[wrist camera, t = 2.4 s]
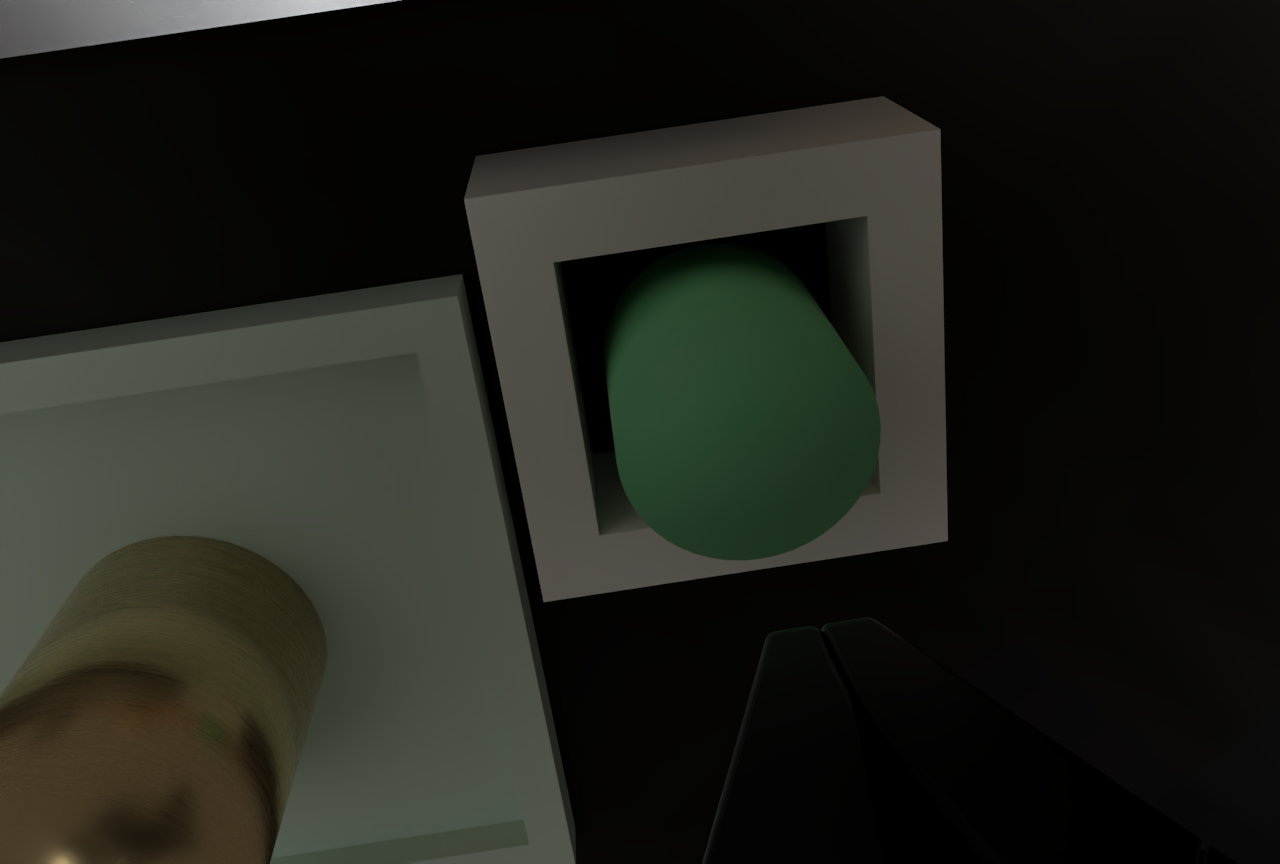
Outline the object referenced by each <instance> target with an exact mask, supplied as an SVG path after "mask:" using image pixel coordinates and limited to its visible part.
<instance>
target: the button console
mask: <svg viewBox="0 0 1280 864" xmlns="http://www.w3.org/2000/svg"><path fill="white" fill-rule="evenodd" d="M464 202H465V207H466V212H467V217H468V222H469V227H470V233H471V238H472V243H473V248H474V253H475V258H476V263H477V268H478V273H479V278H480V283H481V288H482V293H483V298H484V303H485V308H486V313H487V319H488V324H489V329H490V334H491V339H492V344H493V349H494V354H495V359H496V364H497V369H498V374H499V379H500V384H501V389H502V394H503V399H504V404H505V410H506V415H507V420H508V425H509V430H510V435H511V440H512V445H513V450H514V455H515V460H516V465H517V470H518V475H519V480H520V485H521V490H522V495H523V501H524V506H525V511H526V516H527V521H528V526H529V531H530V536H531V541H532V546H533V551H534V556H535V561H536V566H537V571H538V576H539V581H540V587H541V592H542V597H543V602H548V601H555V600H561V599H568V598H575V597H581V596H588V595H594V594H601V593H608V592H614V591H621V590H627V589H634V588H640V587H647V586H654V585H660V584H667V583H673V582H680V581H687V580H693V579H700V578H706V577H713V576H720V575H726V574H733V573H739V572H746V571H753V570H759V569H766V568H772V567H779V566H786V565H792V564H799V563H805V562H812V561H818V560H825V559H832V558H838V557H845V556H851V555H858V554H865V553H871V552H878V551H884V550H891V549H898V548H904V547H911V546H917V545H924V544H931V543H937V542H944V541H948V520H947V464H946V409H945V354H944V298H943V243H942V188H941V132H940V129H939V128H938V127H936V126H934V125H932V124H931V123H929V122H927V121H925V120H924V119H922V118H920V117H918V116H917V115H915V114H913V113H912V112H910V111H908V110H906V109H905V108H903V107H901V106H899V105H898V104H896V103H894V102H893V101H891V100H889V99H887V98H886V97H884V96H881V97H874V98H868V99H861V100H854V101H847V102H840V103H834V104H827V105H820V106H813V107H806V108H800V109H793V110H786V111H779V112H772V113H765V114H759V115H752V116H745V117H738V118H731V119H725V120H718V121H711V122H704V123H697V124H691V125H684V126H677V127H670V128H663V129H656V130H650V131H643V132H636V133H629V134H622V135H616V136H609V137H602V138H595V139H588V140H582V141H575V142H568V143H561V144H554V145H547V146H541V147H534V148H527V149H520V150H513V151H507V152H500V153H493V154H486V155H479V156H476V157H475V161H474V165H473V168H472V172H471V176H470V179H469V183H468V186H467V190H466V194H465V197H464ZM823 222H825V224H826V240H827V256H828V272H829V288H830V304H831V320H832V326H833V328H834V329H835V331H836V332H837V334H838V335H839V337H840V338H841V340H842V341H843V343H844V344H845V346H846V347H847V349H848V350H849V352H850V353H851V354H852V356H853V357H854V359H855V360H856V362H857V363H858V365H859V366H860V368H861V369H862V371H863V373H864V374H865V376H866V377H867V379H868V381H869V383H870V385H871V387H872V390H873V392H874V394H875V398H876V401H877V405H878V409H879V415H880V424H881V435H880V446H879V452H878V458H877V461H876V464H875V467H874V470H873V473H872V475H871V477H870V480H869V482H868V484H867V486H866V488H865V489H864V491H863V493H862V494H861V496H860V497H859V499H858V501H857V502H856V503H855V504H854V505H853V507H852V508H851V509H850V510H849V512H848V513H847V514H846V515H845V516H844V517H843V518H842V519H841V520H840V521H839V522H838V523H837V524H836V525H834V526H833V527H832V528H830V529H829V530H828V531H826V532H825V533H824V534H822V535H821V536H819V537H818V538H816V539H814V540H813V541H811V542H809V543H807V544H805V545H803V546H801V547H799V548H797V549H794V550H792V551H789V552H786V553H783V554H780V555H777V556H772V557H767V558H762V559H755V560H744V561H743V560H722V559H715V558H709V557H705V556H702V555H698V554H694V553H692V552H689V551H687V550H684V549H682V548H680V547H678V546H676V545H674V544H672V543H671V542H669V541H667V540H666V539H664V538H663V537H661V536H660V535H659V534H657V533H656V532H655V531H654V530H653V529H651V528H650V527H649V526H648V525H647V524H646V523H645V522H644V521H643V520H642V518H641V517H640V516H639V514H638V513H637V512H636V511H635V509H634V508H633V506H632V504H631V503H630V501H629V499H628V497H627V496H626V494H625V491H624V488H623V486H622V483H621V481H620V477H619V472H618V468H617V462H616V454H615V451H610V452H603V453H596V454H592V448H591V442H590V436H589V430H588V424H587V418H586V412H585V406H584V400H583V394H582V388H581V382H580V376H579V370H578V364H577V357H576V351H575V345H574V339H573V333H572V327H571V321H570V315H569V309H568V303H567V297H566V291H565V285H564V279H563V273H562V267H561V261H567V260H573V259H580V258H587V257H594V256H600V255H607V254H614V253H621V252H627V251H634V250H641V249H648V248H654V247H661V246H668V245H675V244H681V243H688V242H695V241H702V240H708V239H715V238H722V237H729V236H735V235H742V234H749V233H756V232H762V231H769V230H776V229H783V228H789V227H796V226H803V225H810V224H817V223H823Z"/></svg>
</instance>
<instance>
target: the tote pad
mask: <svg viewBox="0 0 1280 864" xmlns="http://www.w3.org/2000/svg"><path fill="white" fill-rule="evenodd" d="M166 536H197V537H205V538H212V539H216V540H220V541H225V542H229V543H232V544H234V545H237V546H240V547H243V548H246V549H248V550H250V551H252V552H254V553H256V554H258V555H260V556H262V557H264V558H265V559H267V560H269V561H270V562H272V563H273V564H275V565H276V566H278V567H279V568H280V569H282V570H283V571H284V572H285V573H286V574H288V575H289V576H290V577H291V578H292V579H293V580H294V581H295V582H296V583H297V584H298V585H299V586H300V587H301V588H302V590H303V591H304V592H305V594H306V595H307V596H308V598H309V599H310V600H311V602H312V604H313V605H314V607H315V609H316V611H317V613H318V615H319V617H320V620H321V623H322V625H323V628H324V633H325V637H326V645H327V660H326V669H325V672H324V676H323V680H322V683H321V687H320V690H319V694H318V697H317V701H316V704H315V708H314V711H313V714H312V718H311V721H310V725H309V728H308V732H307V735H306V739H305V742H304V746H303V749H302V753H301V756H300V760H299V763H298V767H297V770H296V774H295V777H294V781H293V784H292V788H291V791H290V794H289V798H288V801H287V805H286V808H285V812H284V815H283V819H282V822H281V826H280V829H279V833H278V836H277V840H276V843H275V847H274V850H273V854H272V857H271V861H270V864H576V842H575V824H574V819H573V814H572V809H571V804H570V799H569V794H568V789H567V785H566V780H565V775H564V770H563V765H562V760H561V755H560V750H559V745H558V740H557V736H556V731H555V726H554V721H553V716H552V711H551V706H550V701H549V696H548V691H547V687H546V682H545V677H544V672H543V667H542V662H541V657H540V652H539V647H538V642H537V638H536V633H535V628H534V623H533V618H532V613H531V608H530V603H529V598H528V593H527V589H526V584H525V579H524V574H523V569H522V564H521V559H520V554H519V549H518V544H517V540H516V535H515V530H514V525H513V520H512V515H511V510H510V505H509V500H508V495H507V491H506V486H505V481H504V476H503V471H502V466H501V461H500V456H499V451H498V446H497V442H496V437H495V432H494V427H493V422H492V417H491V412H490V407H489V402H488V397H487V393H486V388H485V383H484V378H483V373H482V368H481V363H480V358H479V353H478V348H477V344H476V339H475V334H474V329H473V324H472V319H471V314H470V309H469V304H468V299H467V295H466V290H465V285H464V280H463V275H462V274H460V275H453V276H446V277H439V278H433V279H426V280H419V281H412V282H406V283H399V284H392V285H385V286H379V287H372V288H365V289H358V290H352V291H345V292H338V293H331V294H325V295H318V296H311V297H304V298H298V299H291V300H284V301H277V302H270V303H264V304H257V305H250V306H243V307H237V308H230V309H223V310H216V311H210V312H203V313H196V314H189V315H183V316H176V317H169V318H162V319H156V320H149V321H142V322H135V323H129V324H122V325H115V326H108V327H102V328H95V329H88V330H81V331H75V332H68V333H61V334H54V335H48V336H41V337H34V338H27V339H21V340H14V341H7V342H0V695H1V694H2V692H3V691H4V689H5V688H6V687H7V685H8V684H9V682H10V681H11V679H12V678H13V676H14V675H15V673H16V672H17V671H18V669H19V668H20V666H21V665H22V663H23V662H24V660H25V659H26V657H27V656H28V655H29V653H30V652H31V650H32V649H33V647H34V646H35V644H36V643H37V641H38V640H39V639H40V637H41V636H42V634H43V633H44V631H45V630H46V628H47V627H48V625H49V624H50V623H51V621H52V620H53V618H54V617H55V615H56V614H57V612H58V611H59V609H60V608H61V607H62V605H63V604H64V602H65V601H66V599H67V598H68V596H69V595H70V593H71V592H72V591H73V589H74V588H75V586H76V585H77V583H78V582H79V581H80V580H81V578H82V577H83V576H84V575H85V573H86V572H87V571H88V570H89V569H91V568H92V567H93V566H94V565H95V564H96V563H97V562H98V561H100V560H101V559H103V558H104V557H106V556H107V555H109V554H110V553H112V552H114V551H116V550H118V549H120V548H122V547H124V546H127V545H130V544H133V543H136V542H139V541H142V540H147V539H152V538H157V537H166Z"/></svg>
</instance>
